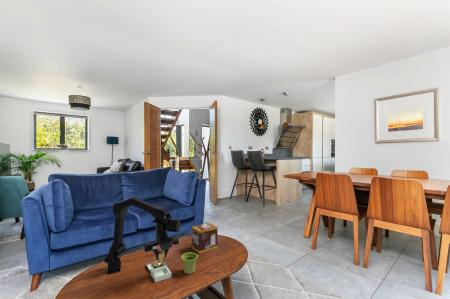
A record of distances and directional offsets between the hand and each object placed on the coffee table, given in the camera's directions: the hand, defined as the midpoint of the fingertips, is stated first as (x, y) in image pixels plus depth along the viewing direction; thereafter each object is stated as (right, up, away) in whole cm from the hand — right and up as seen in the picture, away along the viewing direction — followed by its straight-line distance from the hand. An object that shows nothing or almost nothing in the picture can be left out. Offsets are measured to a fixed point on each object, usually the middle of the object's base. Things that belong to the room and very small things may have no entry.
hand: (160, 259), depth 121 cm
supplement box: (+21, -10, +35) cm, 42 cm away
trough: (0, -9, 0) cm, 9 cm away
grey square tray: (-5, -9, +9) cm, 14 cm away
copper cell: (0, -2, 0) cm, 2 cm away
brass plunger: (-5, -8, +9) cm, 13 cm away
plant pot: (+15, -10, +5) cm, 18 cm away
